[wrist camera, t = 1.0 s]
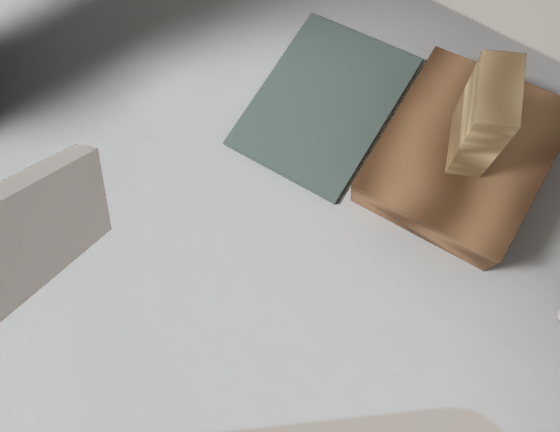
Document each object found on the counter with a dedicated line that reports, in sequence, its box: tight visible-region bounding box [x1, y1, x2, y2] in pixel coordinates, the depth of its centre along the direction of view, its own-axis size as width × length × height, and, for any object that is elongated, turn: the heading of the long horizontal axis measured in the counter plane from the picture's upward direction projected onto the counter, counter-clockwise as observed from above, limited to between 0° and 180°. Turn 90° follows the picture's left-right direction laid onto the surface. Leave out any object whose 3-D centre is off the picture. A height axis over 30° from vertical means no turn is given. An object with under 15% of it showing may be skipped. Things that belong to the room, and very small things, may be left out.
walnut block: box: [351, 46, 560, 271], centre depth 35 cm, size 12×14×4 cm
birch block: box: [445, 50, 527, 178], centre depth 30 cm, size 2×5×8 cm, turn 168°
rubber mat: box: [223, 13, 423, 204], centre depth 40 cm, size 12×16×1 cm
